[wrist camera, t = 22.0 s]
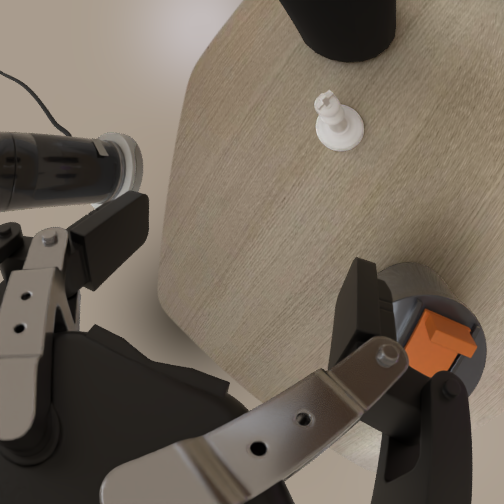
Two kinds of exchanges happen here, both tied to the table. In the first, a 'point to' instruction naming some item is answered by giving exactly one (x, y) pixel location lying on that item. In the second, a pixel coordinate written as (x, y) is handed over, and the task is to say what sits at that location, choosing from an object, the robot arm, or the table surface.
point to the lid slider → (437, 343)
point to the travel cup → (439, 301)
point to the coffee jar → (344, 26)
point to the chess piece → (337, 123)
